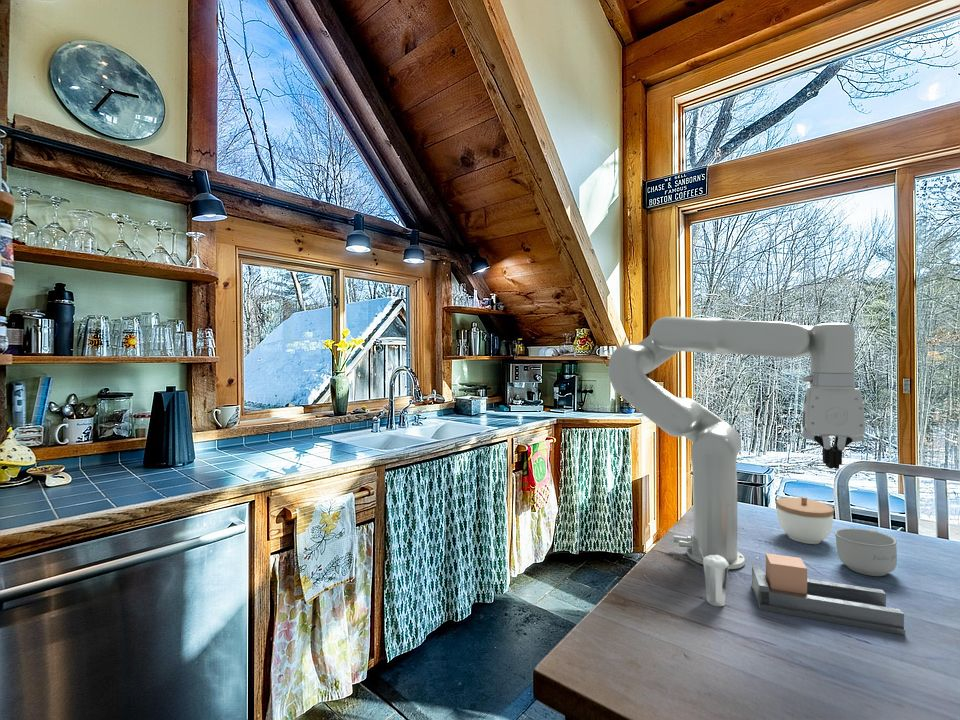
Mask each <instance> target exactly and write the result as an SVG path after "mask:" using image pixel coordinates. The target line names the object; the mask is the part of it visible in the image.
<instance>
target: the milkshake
mask: <svg viewBox="0 0 960 720" xmlns="http://www.w3.org/2000/svg"><path fill="white" fill-rule="evenodd" d="M699 549H700V548H699ZM700 552H701V554H702V557H703V565H702V566H703V572H704V579H705V580H704V581H705V595H706V602H707V603H708V604H709V605H711V606H713V607H720V608H721V607H724V606H725V605H726V604H725V603H726V593H727V580H728V573H729V569H728V567H729V564H728V562H727V561H726V559H725V558H723V557H721V556H719V555H708V556H706V557H704V556H703V553H702V551H701V549H700Z"/></svg>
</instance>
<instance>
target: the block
mask: <svg viewBox="0 0 960 720" xmlns="http://www.w3.org/2000/svg"><path fill="white" fill-rule="evenodd" d="M765 572H766V581H767V583H768V586H769V588H770V589H776V590H782V591H788V592H795V593H801V594H807V579H808V568H807V566H806V564H805V562H804V561H803V560H802V558H801V557H796V556H788V555H780V554H775V553H765Z"/></svg>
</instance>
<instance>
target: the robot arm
mask: <svg viewBox="0 0 960 720" xmlns="http://www.w3.org/2000/svg"><path fill="white" fill-rule="evenodd" d="M855 333H856V332H855V327H854V326H853V325H852V324H851V323H846V322H828V323H818V324H815V325H800V324H798V323H796V322H795V323H794V322H789V321H788V322H786V321H785V322H783V321H762V320H761V321H759V320H758V321H757V320H738V319H729V318H716V317H715V318H714V317H713V318H712V317H711V318H710V317H709V318H708V317H688V316H685V317H684V316H664V317H660V318H658V319H656V320H655V321H654V322H653V324H652V325H651V327H650V331H649V335H648V336H647V337H645V338H643V340H641V341H639V342H638V343H637V344H625V345H620V346H619V347H617V348H616V349H614V351H613V353H612V354H611V355H610V358H609V361H608V376H609V380H610V383H611V384H612V386H613V388H614V389H615V391H616V392H617V394H619V396H621V397H622V398H623V399H624V400H625V401H626V402H628V404H630V405H631V406H632V407H634V408H635V409H636V410H638V411H639V412H640V413H641V414H642V415H643V416H645V417H646V418H648V420H650V422H652V423H654V424H655V425H656V426H658V427H659V428H660V429H661V430H662V431H663V432H664V433H666V434H667V435H669V436H672V437H677V438H681V437H685V438H686V439H687V440H689V441H690V442H691V448H690V449H691V450H690V454H691V455H690V456H691V466H692V467H691V468H692V493H693V494H692V495H693V496H692V497H693V498H692V500H693V503H692V504H693V505H692V506H693V511H692V515H693V519H692V520H693V521H692V522H693V526H692V527H693V528H692V529H693V532H691V535H687V536H682V535H677V534H673V544H678V546H679V547H682V548H686V555H687V557H688V558H689V559H690V560H691V561H693V562H695V563H697V564H699V565H702V566H704V565H703V557H702V554H701V552H700V549H701V551H702V553H703V556H704V557H706V556H708V555H719V556H721V557H723V558H725V559H726V561H727V562H728V564H729V567H728V570H737V569H740V568H742V567H744V566H745V564H746V558H745V556H744V555H743V554H742V553H741V552H740V551H739V550H738V471H737V470H738V469H737V461H738V459H737V457H738V454H739V453H740V451H741V446H742V439H741V436H740V433H738V431H737V430H736V429H735V428H734V427H733V426H732V425H731V424H729V423H728V422H726V420H724V419H722V418H721V417H720V416H718V415H717V414H715V413H714V412H712V411H710V410H709V409H708V408H707V407H705V406H704V405H702V404H701V403H699V402H698V401H696V400H694V399H693V398H690V397H683V396H679V397H678V396H676V395H674V394H672V393H671V392H670V391H668V390H667V389H665V387H663V386H661V385H660V384H659V383H657V382H656V381H654V380H652V379H651V378H649V377H648V376H647V374H650V373H651V372H653V371H654V370H655V369H657V368H658V367H660V366H661V365H662V364H664V363H665V362H667V361H668V360H669V359H671V358H672V357H673V356H675V355H676V354H678V353H679V352H690V353H701V354H713V355H746V356H759V357H771V358H781V359H792V358H798V357H800V358H801V357H808V356H809V357H810V359H809V360H810V361H809V363H810V367H809V368H810V372H809V373H808V374H806V375H802V382H803V383H808V384H809V385H810V386H807V387H806V391H805V393H804V394H805V395H804V401H803V407H802V408H803V409H802V418H801V419H802V421H801V422H802V428H803V429H802V432H801V437H802V438H803V439H807V440H811V441H813V442H814V441H815V442H816V443H817V444H818V445H820V446H821V448H822V463H823V464H825V467H827V468H828V469H831V470H834V469H836V470H839V469H840V465H842V464H843V450H845V448H847V447H848V446H849V445H850V444H852V443H858V442H863V441H864V440H865V434H866V415H865V406H864V400H863V396H862V391H861V389H860V388H859V387H858V388H856V380H855V379H856V373H855V372H856V371H855V368H856V364H855V363H856V360H855V359H856V358H855V357H856V355H855V354H856V352H855V350H856V347H855V344H856V343H855V342H856V338H855V337H856V336H855ZM832 436H833V437H834V439H833V444H832V446H831V440H830V437H832ZM699 548H700V549H699Z"/></svg>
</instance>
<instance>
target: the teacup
mask: <svg viewBox="0 0 960 720" xmlns="http://www.w3.org/2000/svg"><path fill="white" fill-rule="evenodd" d="M834 536H835V541H836V551H837V555H838V559H839V560H840V562H842V563H843V564H844V565H845V566H846V567H847V568H848V569H850V570H851V571H853V572H855V573H859V574H861V575H865V576H866V575H867V576H872V577H883V576H887V575H888V574H889V573H892V572H894V570H896V568H897V563H898V555H897V542H898V541H897V540H896V538H894V537H893V536H891V535H888V534H885V533H883V532H879V531H878V530H877V529H872V528H870V529H863V528H852V527H851V528H841V529H836V530H835V531H834Z"/></svg>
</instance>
